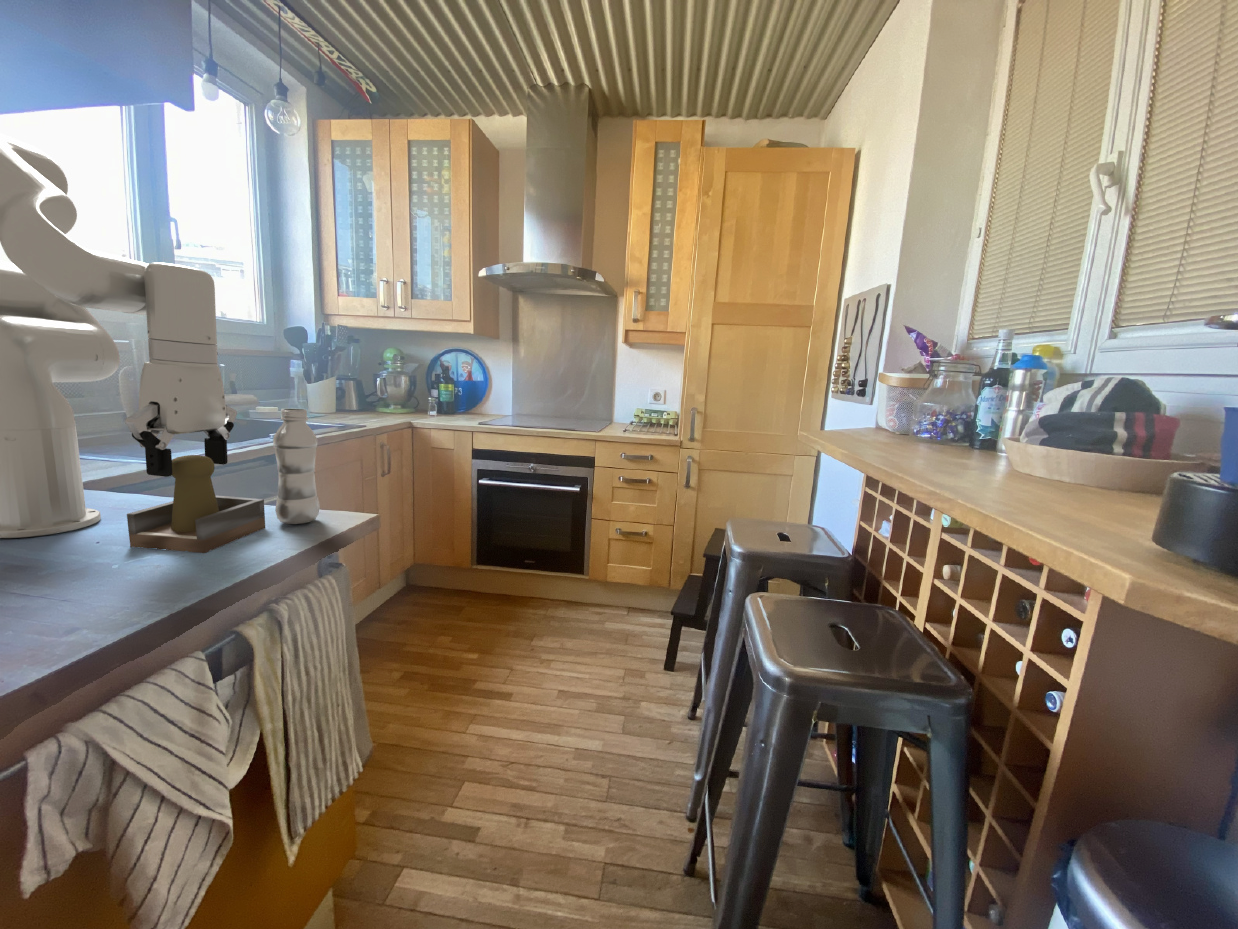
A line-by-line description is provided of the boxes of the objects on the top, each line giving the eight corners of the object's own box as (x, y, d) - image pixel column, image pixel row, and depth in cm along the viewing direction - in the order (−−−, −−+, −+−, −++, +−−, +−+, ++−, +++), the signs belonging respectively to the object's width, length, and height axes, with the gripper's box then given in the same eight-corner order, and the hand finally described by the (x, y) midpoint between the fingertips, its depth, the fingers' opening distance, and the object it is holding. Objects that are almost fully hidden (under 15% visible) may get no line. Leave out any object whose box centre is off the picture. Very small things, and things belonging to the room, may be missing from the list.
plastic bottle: (266, 526, 84) (260, 409, 80) (294, 515, 91) (289, 406, 87) (303, 530, 84) (298, 412, 80) (328, 518, 90) (325, 409, 87)
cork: (193, 534, 73) (187, 461, 71) (159, 528, 74) (153, 456, 72) (232, 522, 79) (227, 455, 77) (200, 518, 80) (195, 451, 78)
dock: (130, 547, 72) (126, 513, 71) (201, 522, 83) (199, 494, 82) (204, 553, 71) (202, 520, 71) (265, 527, 83) (263, 499, 82)
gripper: (209, 354, 80) (213, 457, 84) (95, 348, 63) (105, 478, 66) (254, 359, 80) (256, 462, 83) (152, 355, 63) (160, 484, 66)
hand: (189, 469), depth 75 cm, fingers open, 9 cm apart
